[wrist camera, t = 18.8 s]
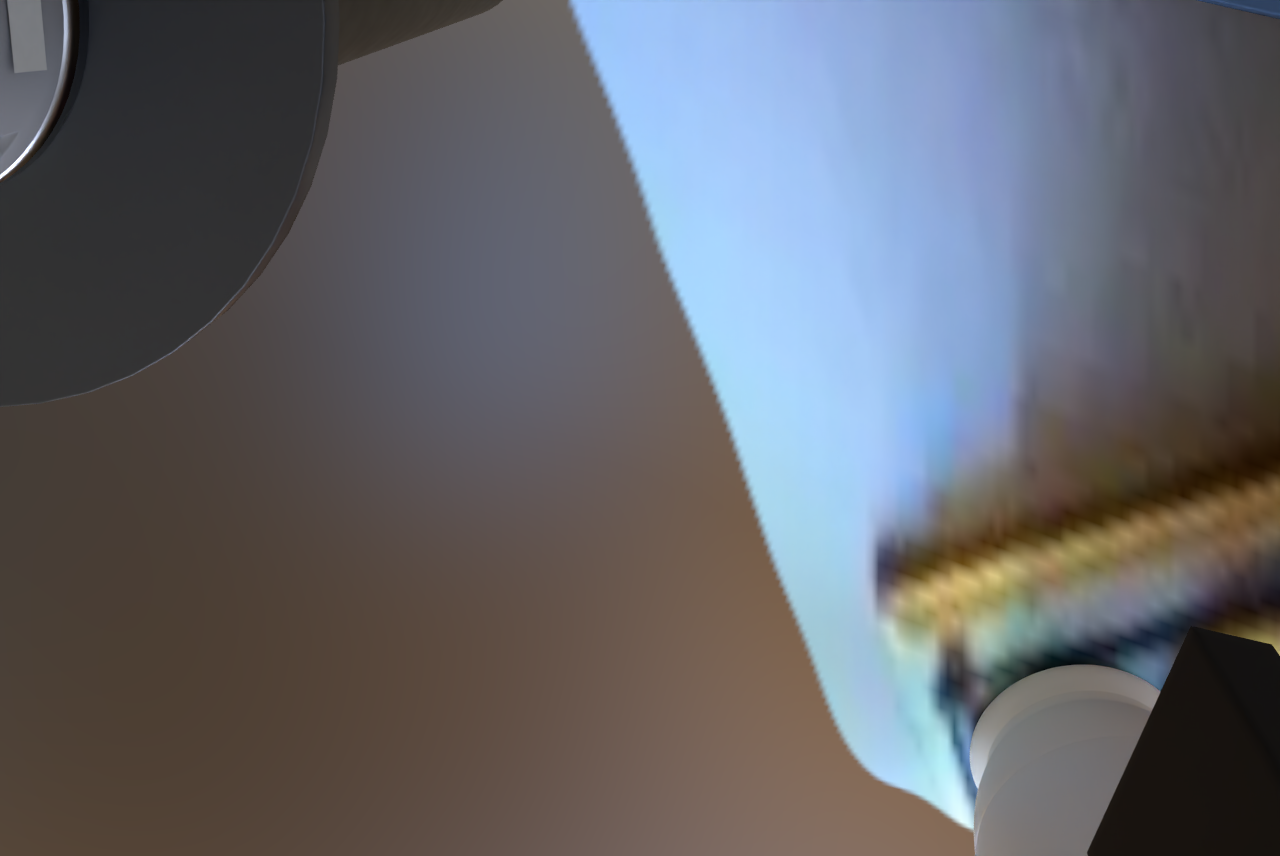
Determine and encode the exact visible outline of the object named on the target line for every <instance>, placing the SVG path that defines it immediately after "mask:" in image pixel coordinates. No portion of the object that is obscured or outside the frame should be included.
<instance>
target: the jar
mask: <svg viewBox="0 0 1280 856" xmlns="http://www.w3.org/2000/svg"><path fill="white" fill-rule="evenodd" d="M1159 694H1160V691H1159V690H1158V689H1157V688H1155V687H1154V686H1153V685H1151V684H1150V683H1148V682H1146V681H1145V680H1143V679H1141V678H1139V677H1137V676H1135V675H1133V674H1130V673H1128V672H1125V671H1122V670H1119V669H1115V668H1110V667H1105V666H1099V665H1067V666H1060V667H1054V668H1050V669H1046V670H1043V671H1040V672H1037V673H1034V674H1032V675H1029V676H1027V677H1025V678H1023V679H1021V680H1019V681H1018V682H1016V683H1014V684H1012V685H1011V686H1009V687H1008V688H1007V689H1005V690H1004V691H1003V692H1002V693H1000V694H999V695H998V696H997V697H996V698H995V699H994V700H993V701H992V702H991V703H990V705H989V706H988V707H987V708H986V709H985V711H984V712H983V714H982V715H981V717H980V719H979V721H978V723H977V725H976V727H975V730H974V732H973V736H972V740H971V745H970V766H971V772H972V775H973V779H974V782H975V784H976V786H977V788H978V792H977V797H976V803H975V812H974V844H975V856H1088V855H1087V851H1088V849H1089V847H1090V845H1091V842H1092V840H1093V838H1094V836H1095V834H1096V831H1097V829H1098V827H1099V825H1100V823H1101V821H1102V818H1103V816H1104V814H1105V812H1106V810H1107V808H1108V805H1109V803H1110V801H1111V799H1112V797H1113V794H1114V792H1115V790H1116V788H1117V786H1118V784H1119V781H1120V779H1121V777H1122V775H1123V773H1124V770H1125V768H1126V766H1127V764H1128V762H1129V760H1130V757H1131V755H1132V753H1133V751H1134V749H1135V747H1136V744H1137V742H1138V740H1139V738H1140V736H1141V733H1142V731H1143V729H1144V727H1145V725H1146V723H1147V720H1148V718H1149V716H1150V714H1151V712H1152V710H1153V707H1154V705H1155V703H1156V701H1157V699H1158V696H1159Z"/></svg>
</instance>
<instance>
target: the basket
mask: <svg viewBox="0 0 1280 856" xmlns="http://www.w3.org/2000/svg"><path fill="white" fill-rule="evenodd" d="M1198 1H1202V2H1207V3H1211V4H1215V5H1220V6H1224V7H1228V8H1233V9H1237V10H1242V11H1246V12H1250V13H1255V14H1259V15H1263V16H1268V17H1272V18H1276V19H1280V0H1198Z"/></svg>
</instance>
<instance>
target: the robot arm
mask: <svg viewBox="0 0 1280 856" xmlns="http://www.w3.org/2000/svg"><path fill="white" fill-rule="evenodd" d="M88 39H89V7H88V0H0V184H2V183H4V182H6V181H8V180H10V179H12V178H13V177H14V176H16V175H17V174H19V173H20V172H22V171H23V170H25V169H26V168H27V167H28V166H29V165H31V164H32V163H33V162H34V161H35V160H36V159H37V158H39V156H40V155H41V154H42V153H43V152H44V151H45V150H46V149H47V148H48V146H49V145H50V144H51V143H52V141H53V140H54V139H55V137H56V136H57V134H58V133H59V132H60V130H61V129H62V127H63V125H64V123H65V121H66V120H67V118H68V116H69V114H70V112H71V110H72V107H73V105H74V102H75V100H76V97H77V95H78V92H79V89H80V85H81V82H82V78H83V75H84V70H85V64H86V58H87V52H88ZM1087 855H1088V856H1280V656H1279V654H1278V653H1277V651H1276V650H1275V648H1274V647H1273V646H1272V644H1267V643H1263V642H1258V641H1254V640H1250V639H1245V638H1241V637H1237V636H1232V635H1228V634H1223V633H1219V632H1215V631H1210V630H1206V629H1202V628H1197V627H1193V626H1191V627H1190V629H1189V631H1188V633H1187V636H1186V638H1185V640H1184V642H1183V644H1182V646H1181V649H1180V651H1179V653H1178V655H1177V657H1176V659H1175V662H1174V664H1173V666H1172V668H1171V670H1170V673H1169V675H1168V677H1167V679H1166V681H1165V683H1164V686H1163V688H1162V690H1161V692H1160V694H1159V696H1158V699H1157V701H1156V703H1155V705H1154V707H1153V710H1152V712H1151V714H1150V716H1149V718H1148V720H1147V723H1146V725H1145V727H1144V729H1143V731H1142V733H1141V736H1140V738H1139V740H1138V742H1137V744H1136V747H1135V749H1134V751H1133V753H1132V755H1131V757H1130V760H1129V762H1128V764H1127V766H1126V768H1125V770H1124V773H1123V775H1122V777H1121V779H1120V781H1119V784H1118V786H1117V788H1116V790H1115V792H1114V794H1113V797H1112V799H1111V801H1110V803H1109V805H1108V808H1107V810H1106V812H1105V814H1104V816H1103V818H1102V821H1101V823H1100V825H1099V827H1098V829H1097V831H1096V834H1095V836H1094V838H1093V840H1092V842H1091V845H1090V847H1089V849H1088V851H1087Z"/></svg>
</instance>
